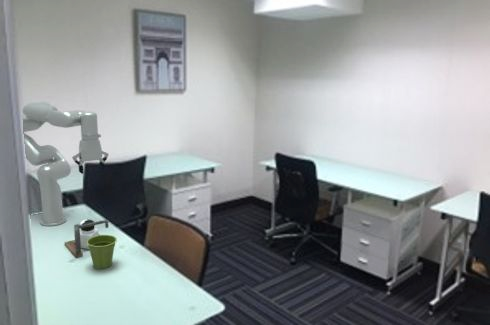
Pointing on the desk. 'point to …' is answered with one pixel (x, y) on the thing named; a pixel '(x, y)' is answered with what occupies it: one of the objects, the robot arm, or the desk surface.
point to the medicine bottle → (87, 233)
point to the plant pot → (102, 250)
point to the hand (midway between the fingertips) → (91, 171)
